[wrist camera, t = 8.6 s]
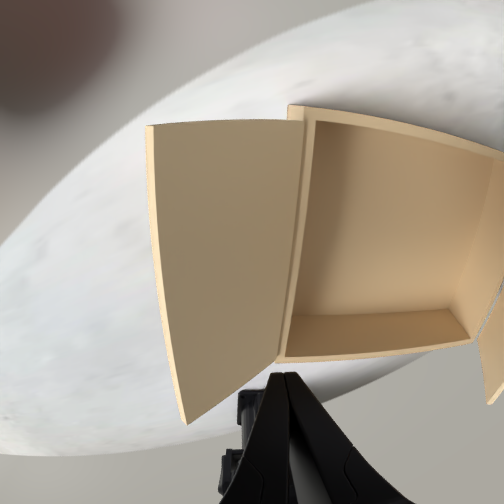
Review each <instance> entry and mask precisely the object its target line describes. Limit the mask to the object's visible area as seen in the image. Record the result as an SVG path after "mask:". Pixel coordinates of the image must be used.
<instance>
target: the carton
mask: <svg viewBox="0 0 504 504" xmlns="http://www.w3.org/2000/svg"><path fill="white" fill-rule="evenodd" d="M287 120H299V121H304V133H303V145H302V156H301V166H300V177H299V186H298V196H297V205H296V215H295V223H294V232H293V241H292V249H291V257H290V265H289V273H288V281H287V288H286V296H285V303H284V310H283V317H282V324H281V331H280V338H279V344H278V351H277V358H276V360H275V361H274V362H275V363H303V362H325V361H341V360H354V359H365V358H376V357H385V356H394V355H402V354H410V353H417V352H424V351H430V350H437V349H443V348H449V347H454V346H460V345H465V344H470V343H473V341H474V339H475V337H476V336H477V334H478V332H479V330H480V328H481V326H482V324H483V322H484V320H485V318H486V316H487V314H488V312H489V310H490V308H491V306H492V304H493V302H494V300H495V298H496V295H497V293H498V291H499V289H500V286H501V284H502V282H503V279H504V152H501V151H498V150H495V149H493V148H490V147H487V146H484V145H481V144H478V143H475V142H472V141H469V140H466V139H463V138H460V137H456V136H453V135H450V134H446V133H443V132H439V131H435V130H432V129H428V128H424V127H420V126H416V125H412V124H407V123H403V122H399V121H394V120H389V119H384V118H379V117H374V116H369V115H363V114H357V113H351V112H345V111H338V110H331V109H324V108H316V107H307V106H297V105H288V110H287Z"/></svg>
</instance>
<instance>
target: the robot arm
mask: <svg viewBox="0 0 504 504" xmlns="http://www.w3.org/2000/svg"><path fill="white" fill-rule="evenodd" d="M237 424H238V425H242V449H236V450H232V449H226V455H224V456H222V469H221V475H220V481H219V486H218V492H219V493H220V494H221V495H223V498H222V500H221V501H220V503H219V504H415V503H413V502H411V501H410V500H408V499H407V498H405V497H404V496H403V495H402V494H401V493H400V492H398V491H397V490H396V489H395V488H394V487H393V486H392V485H391V484H390V483H388V482H387V481H386V480H385V479H384V478H383V477H382V476H381V475H380V474H379V473H378V472H377V471H376V470H375V469H374V468H373V467H372V466H371V465H370V464H369V463H368V462H367V461H366V460H365V459H364V458H363V456H362V455H361V454H360V453H359V451H358V450H357V449H356V448H355V447H354V446H353V444H352V443H351V442H350V441H349V439H348V438H347V437H346V435H345V434H344V433H343V432H342V430H341V429H340V428H339V427H338V425H337V424H336V423H335V421H333V419H332V418H331V416H330V415H329V414H328V412H327V411H326V410H325V409H324V407H323V406H322V405H321V403H320V402H319V401H318V400H317V398H316V397H315V396H314V394H313V393H312V392H311V390H310V389H309V388H308V386H307V385H306V384H305V382H304V381H303V380H302V379H301V377H300V376H299V375H298V373H297V372H285V373H284V374H283V373H282V372H275V373H271V374H270V376H269V379H268V382H267V385H266V389H265V391H241V392H239V393H238V409H237Z"/></svg>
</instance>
